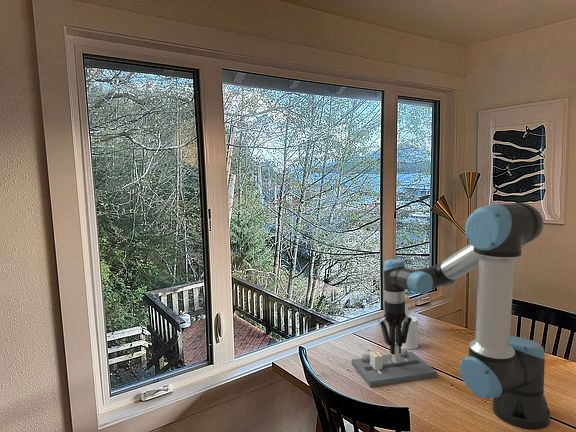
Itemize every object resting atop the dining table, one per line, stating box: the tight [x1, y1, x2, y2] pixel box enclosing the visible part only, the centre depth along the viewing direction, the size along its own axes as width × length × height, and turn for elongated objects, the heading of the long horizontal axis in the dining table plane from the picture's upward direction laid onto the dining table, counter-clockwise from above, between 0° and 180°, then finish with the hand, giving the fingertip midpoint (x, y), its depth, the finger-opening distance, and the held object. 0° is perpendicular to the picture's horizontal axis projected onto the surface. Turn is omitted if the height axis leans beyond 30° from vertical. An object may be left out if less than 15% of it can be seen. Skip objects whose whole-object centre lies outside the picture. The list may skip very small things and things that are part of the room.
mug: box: [401, 315, 427, 350], centre depth 172 cm, size 12×8×12 cm
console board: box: [351, 348, 438, 388], centre depth 151 cm, size 18×26×4 cm
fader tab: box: [369, 350, 383, 370], centre depth 150 cm, size 4×3×5 cm
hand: (395, 361), depth 151 cm, fingers closed
